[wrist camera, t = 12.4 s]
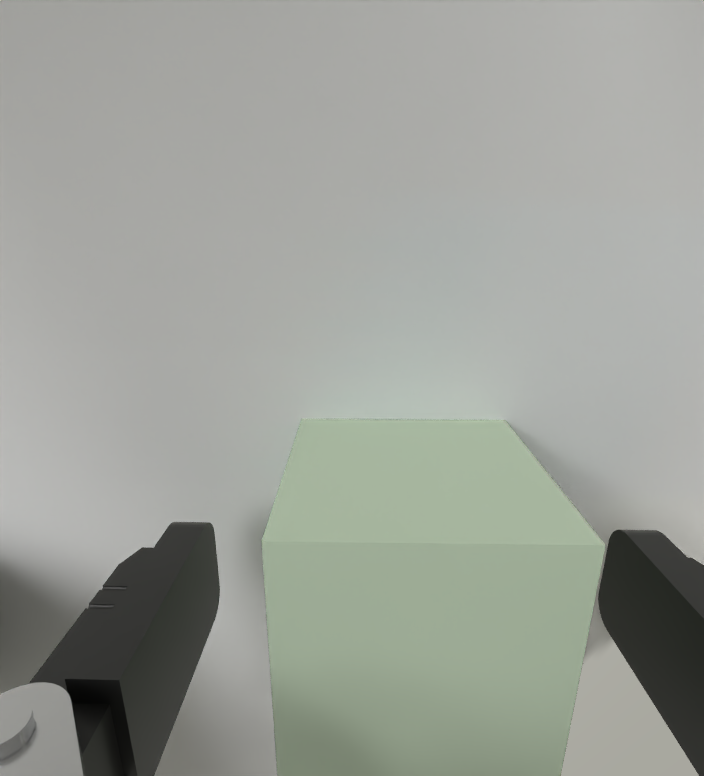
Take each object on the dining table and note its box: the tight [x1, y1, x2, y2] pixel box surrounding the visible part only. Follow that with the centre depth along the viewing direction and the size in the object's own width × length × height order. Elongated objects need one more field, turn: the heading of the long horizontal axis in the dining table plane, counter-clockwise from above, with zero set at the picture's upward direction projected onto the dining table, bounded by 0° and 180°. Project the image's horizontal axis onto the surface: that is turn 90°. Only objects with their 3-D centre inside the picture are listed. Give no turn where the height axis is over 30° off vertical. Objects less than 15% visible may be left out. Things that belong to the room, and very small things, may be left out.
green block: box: [261, 419, 606, 776], centre depth 9 cm, size 4×4×4 cm
